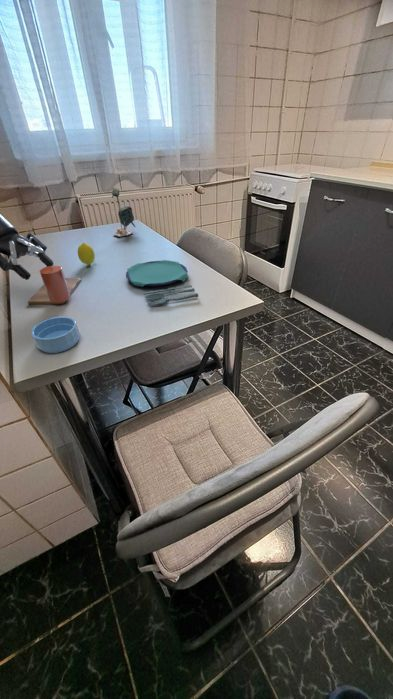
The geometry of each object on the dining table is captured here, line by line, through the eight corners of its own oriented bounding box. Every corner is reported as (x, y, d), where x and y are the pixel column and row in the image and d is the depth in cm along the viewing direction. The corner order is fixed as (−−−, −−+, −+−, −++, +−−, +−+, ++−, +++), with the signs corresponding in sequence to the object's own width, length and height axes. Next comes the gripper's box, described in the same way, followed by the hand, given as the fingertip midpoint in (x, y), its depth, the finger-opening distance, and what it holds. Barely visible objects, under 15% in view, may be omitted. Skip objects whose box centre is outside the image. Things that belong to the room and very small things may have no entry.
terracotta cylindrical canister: (55, 304, 81) (45, 275, 75) (46, 298, 84) (35, 269, 79) (74, 297, 84) (65, 268, 79) (64, 291, 87) (55, 264, 82)
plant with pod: (139, 234, 136) (133, 185, 124) (115, 238, 132) (106, 188, 120) (134, 230, 142) (127, 183, 130) (111, 234, 138) (102, 185, 126)
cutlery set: (178, 262, 106) (178, 256, 105) (205, 299, 83) (205, 291, 82) (123, 270, 102) (122, 264, 100) (135, 311, 79) (134, 303, 77)
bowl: (49, 360, 63) (42, 344, 60) (30, 342, 68) (24, 328, 66) (88, 340, 68) (84, 326, 66) (68, 326, 73) (63, 312, 71)
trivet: (63, 304, 83) (62, 300, 82) (28, 304, 83) (27, 301, 82) (81, 280, 96) (80, 277, 95) (51, 281, 96) (50, 278, 95)
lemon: (94, 268, 104) (88, 245, 99) (78, 268, 104) (72, 245, 99) (98, 262, 108) (93, 240, 104) (84, 262, 109) (78, 240, 104)
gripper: (-32, 221, 69) (24, 273, 73) (16, 208, 79) (63, 254, 83) (-37, 242, 74) (16, 290, 77) (9, 227, 84) (54, 270, 88)
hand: (40, 271), depth 80 cm, fingers open, 8 cm apart
